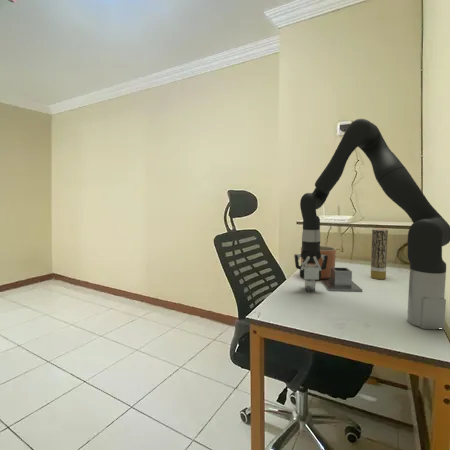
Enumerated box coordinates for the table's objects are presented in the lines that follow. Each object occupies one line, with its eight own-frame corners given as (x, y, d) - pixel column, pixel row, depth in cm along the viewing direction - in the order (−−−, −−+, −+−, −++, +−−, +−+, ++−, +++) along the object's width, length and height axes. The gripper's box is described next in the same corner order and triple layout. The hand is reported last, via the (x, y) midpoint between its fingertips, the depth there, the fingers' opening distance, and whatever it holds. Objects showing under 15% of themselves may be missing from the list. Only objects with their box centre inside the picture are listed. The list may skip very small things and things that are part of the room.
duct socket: (362, 291, 122) (362, 273, 121) (328, 290, 123) (328, 272, 123) (351, 282, 135) (352, 266, 135) (321, 281, 137) (321, 265, 136)
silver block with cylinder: (318, 293, 120) (319, 267, 119) (304, 293, 121) (304, 267, 120) (314, 286, 129) (314, 263, 128) (300, 286, 130) (301, 262, 129)
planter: (305, 271, 158) (306, 244, 156) (338, 275, 149) (339, 246, 147) (295, 278, 143) (296, 248, 142) (331, 283, 134) (331, 251, 133)
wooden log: (387, 280, 140) (390, 229, 138) (372, 279, 141) (374, 229, 139) (383, 276, 146) (385, 228, 144) (368, 275, 148) (370, 228, 146)
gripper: (295, 241, 118) (294, 280, 120) (330, 241, 117) (329, 281, 118) (292, 238, 126) (292, 275, 127) (326, 239, 124) (325, 276, 126)
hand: (310, 278), depth 123 cm, fingers closed on silver block with cylinder, 6 cm apart
